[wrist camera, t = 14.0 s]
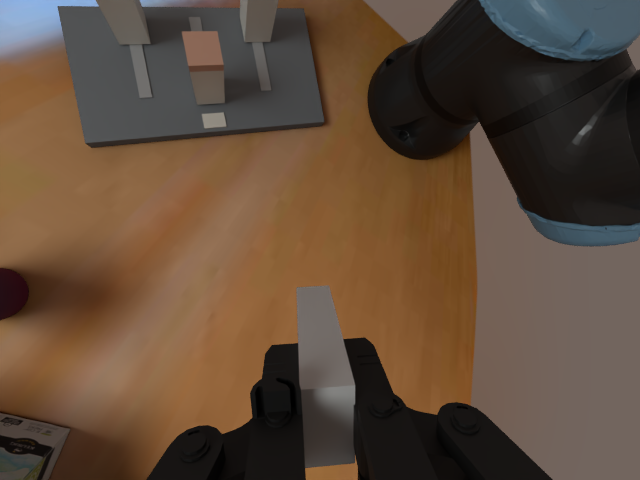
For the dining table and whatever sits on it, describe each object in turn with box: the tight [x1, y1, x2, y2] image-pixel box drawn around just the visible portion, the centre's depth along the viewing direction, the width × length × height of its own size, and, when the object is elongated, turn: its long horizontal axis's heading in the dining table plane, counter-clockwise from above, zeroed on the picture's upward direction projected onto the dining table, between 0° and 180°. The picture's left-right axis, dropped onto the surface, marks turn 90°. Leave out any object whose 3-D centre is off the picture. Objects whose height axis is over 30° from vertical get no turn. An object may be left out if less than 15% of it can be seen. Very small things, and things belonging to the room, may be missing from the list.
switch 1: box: [182, 31, 225, 105], centre depth 32 cm, size 3×3×8 cm
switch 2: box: [240, 0, 278, 42], centre depth 34 cm, size 3×3×8 cm
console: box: [58, 6, 324, 148], centre depth 37 cm, size 26×14×2 cm, turn 101°
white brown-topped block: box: [96, 0, 151, 45], centre depth 31 cm, size 3×3×8 cm
